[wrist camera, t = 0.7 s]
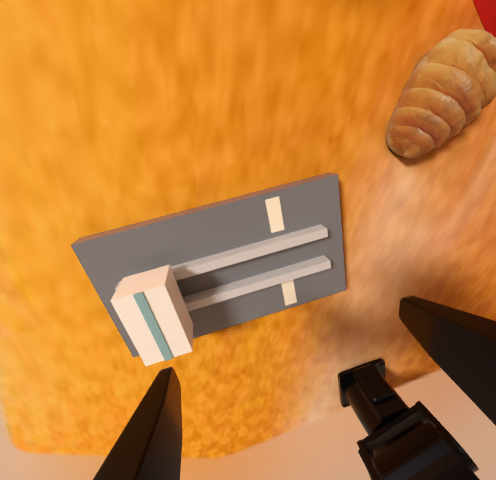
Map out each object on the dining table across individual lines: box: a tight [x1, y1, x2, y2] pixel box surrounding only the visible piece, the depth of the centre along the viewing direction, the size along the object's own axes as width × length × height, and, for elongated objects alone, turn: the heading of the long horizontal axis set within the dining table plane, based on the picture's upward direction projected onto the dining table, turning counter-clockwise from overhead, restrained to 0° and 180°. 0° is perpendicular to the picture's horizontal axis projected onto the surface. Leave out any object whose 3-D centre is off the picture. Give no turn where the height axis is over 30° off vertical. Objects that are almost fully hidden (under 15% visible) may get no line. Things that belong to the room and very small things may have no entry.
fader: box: [110, 265, 193, 366], centre depth 19 cm, size 6×4×5 cm, turn 13°
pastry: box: [386, 29, 496, 159], centre depth 20 cm, size 9×7×4 cm
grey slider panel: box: [71, 173, 346, 357], centre depth 22 cm, size 12×22×3 cm, turn 103°
